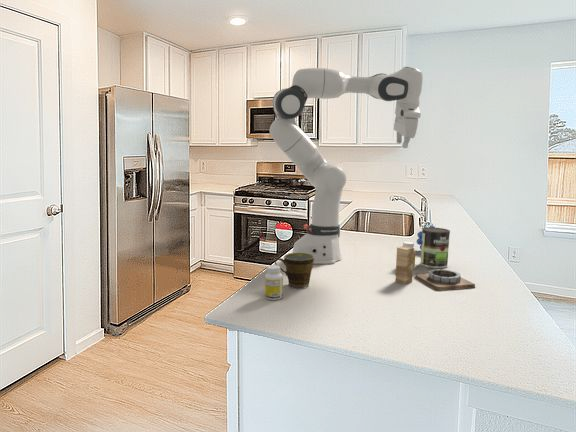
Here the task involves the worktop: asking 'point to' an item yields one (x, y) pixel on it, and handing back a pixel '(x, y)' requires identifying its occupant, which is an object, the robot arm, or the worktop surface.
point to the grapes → (419, 240)
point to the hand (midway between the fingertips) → (401, 145)
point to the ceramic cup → (298, 269)
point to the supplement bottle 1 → (273, 283)
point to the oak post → (404, 264)
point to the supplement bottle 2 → (411, 244)
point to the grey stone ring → (437, 277)
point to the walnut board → (441, 286)
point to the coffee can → (435, 247)
